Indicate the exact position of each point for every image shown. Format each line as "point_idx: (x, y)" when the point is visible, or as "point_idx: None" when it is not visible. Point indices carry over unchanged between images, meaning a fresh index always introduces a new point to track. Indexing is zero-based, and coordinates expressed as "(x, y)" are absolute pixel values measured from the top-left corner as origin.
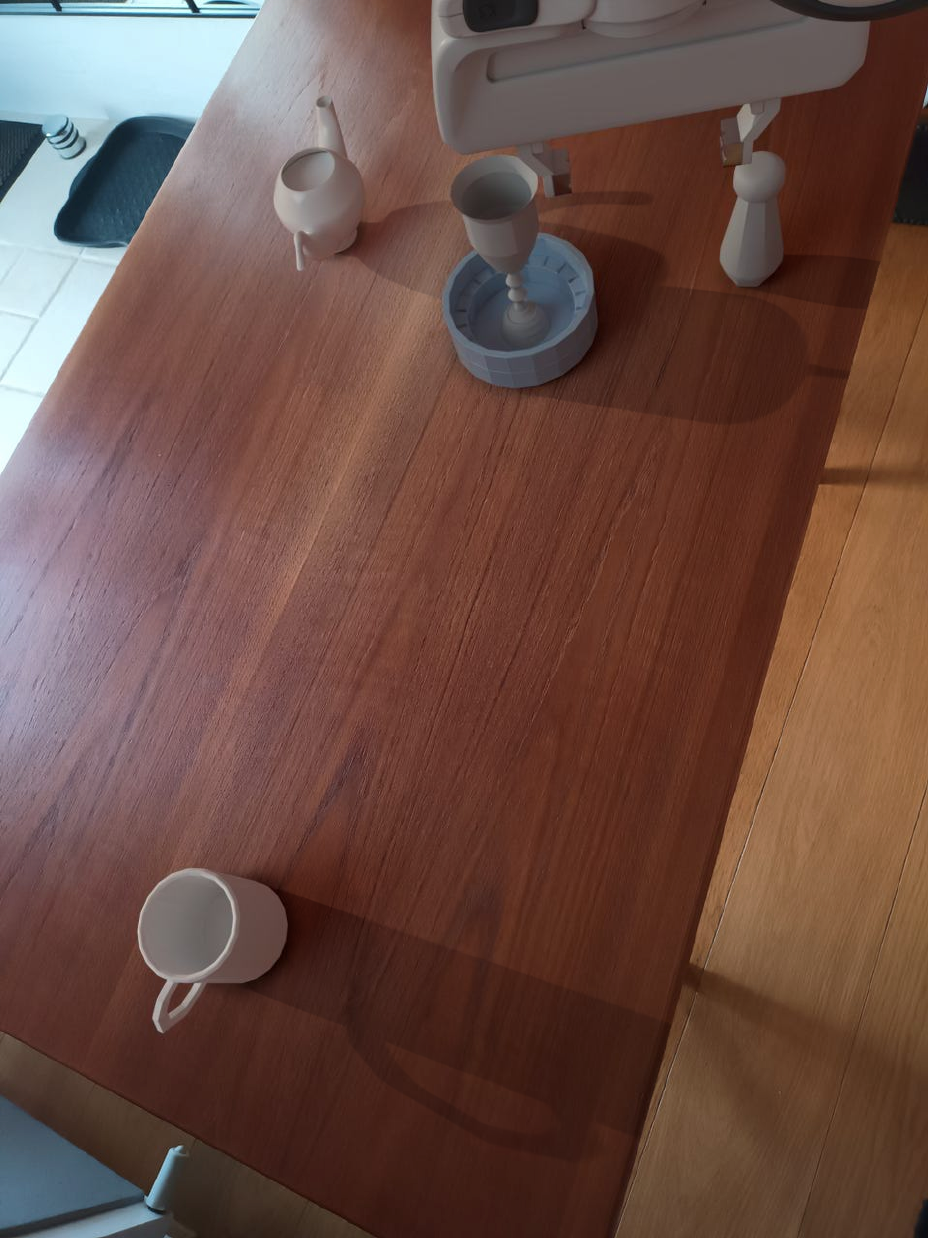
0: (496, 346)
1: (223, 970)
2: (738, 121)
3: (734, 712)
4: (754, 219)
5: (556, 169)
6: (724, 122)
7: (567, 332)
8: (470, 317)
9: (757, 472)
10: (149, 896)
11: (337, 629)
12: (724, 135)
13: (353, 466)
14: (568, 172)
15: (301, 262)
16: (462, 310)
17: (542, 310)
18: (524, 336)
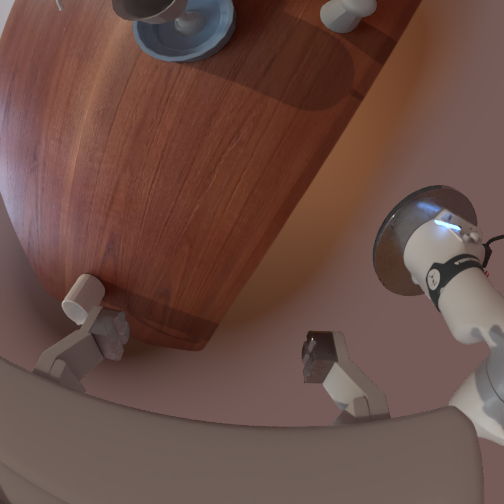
0: (170, 34)
1: None
2: (332, 369)
3: (263, 250)
4: (347, 16)
5: (104, 354)
6: (317, 364)
7: (209, 48)
8: None
9: (306, 141)
10: (62, 304)
11: (94, 190)
12: (309, 375)
13: (92, 105)
14: (118, 360)
15: (60, 7)
16: None
17: (200, 17)
18: (186, 33)
